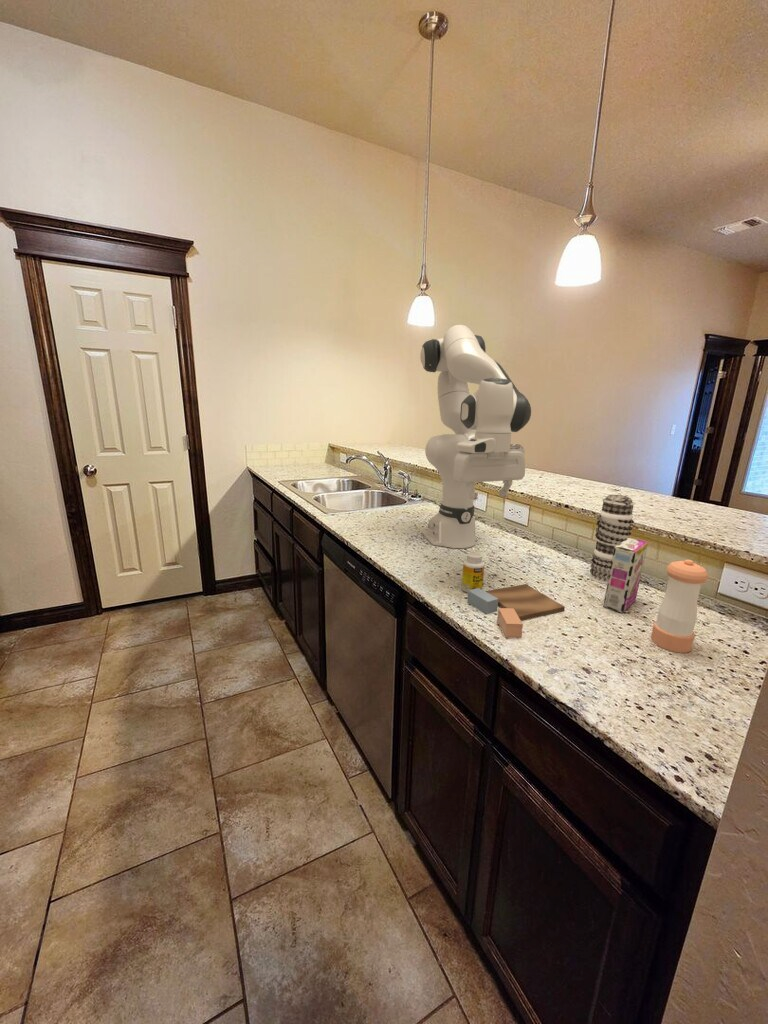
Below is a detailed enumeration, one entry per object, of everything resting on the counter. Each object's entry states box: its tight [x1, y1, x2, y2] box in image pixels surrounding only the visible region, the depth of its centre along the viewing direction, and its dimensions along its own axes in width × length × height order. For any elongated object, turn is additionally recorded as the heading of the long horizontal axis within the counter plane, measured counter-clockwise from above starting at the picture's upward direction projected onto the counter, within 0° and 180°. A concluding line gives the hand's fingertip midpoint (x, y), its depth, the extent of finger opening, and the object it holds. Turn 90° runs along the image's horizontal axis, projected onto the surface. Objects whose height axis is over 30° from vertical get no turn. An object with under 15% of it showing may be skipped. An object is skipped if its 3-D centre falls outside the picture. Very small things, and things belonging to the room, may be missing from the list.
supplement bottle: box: [461, 551, 485, 594], centre depth 111 cm, size 6×6×10 cm
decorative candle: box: [588, 494, 636, 585], centre depth 118 cm, size 9×9×25 cm
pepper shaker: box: [650, 559, 709, 654], centre depth 86 cm, size 7×7×19 cm
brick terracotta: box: [496, 607, 524, 639], centre depth 93 cm, size 7×4×4 cm, turn 179°
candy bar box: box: [602, 537, 649, 614], centre depth 104 cm, size 11×5×16 cm, turn 135°
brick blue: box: [466, 588, 499, 615], centre depth 103 cm, size 7×4×4 cm, turn 30°
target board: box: [484, 583, 566, 621], centre depth 105 cm, size 14×14×1 cm
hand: (488, 498), depth 107 cm, fingers open, 8 cm apart
